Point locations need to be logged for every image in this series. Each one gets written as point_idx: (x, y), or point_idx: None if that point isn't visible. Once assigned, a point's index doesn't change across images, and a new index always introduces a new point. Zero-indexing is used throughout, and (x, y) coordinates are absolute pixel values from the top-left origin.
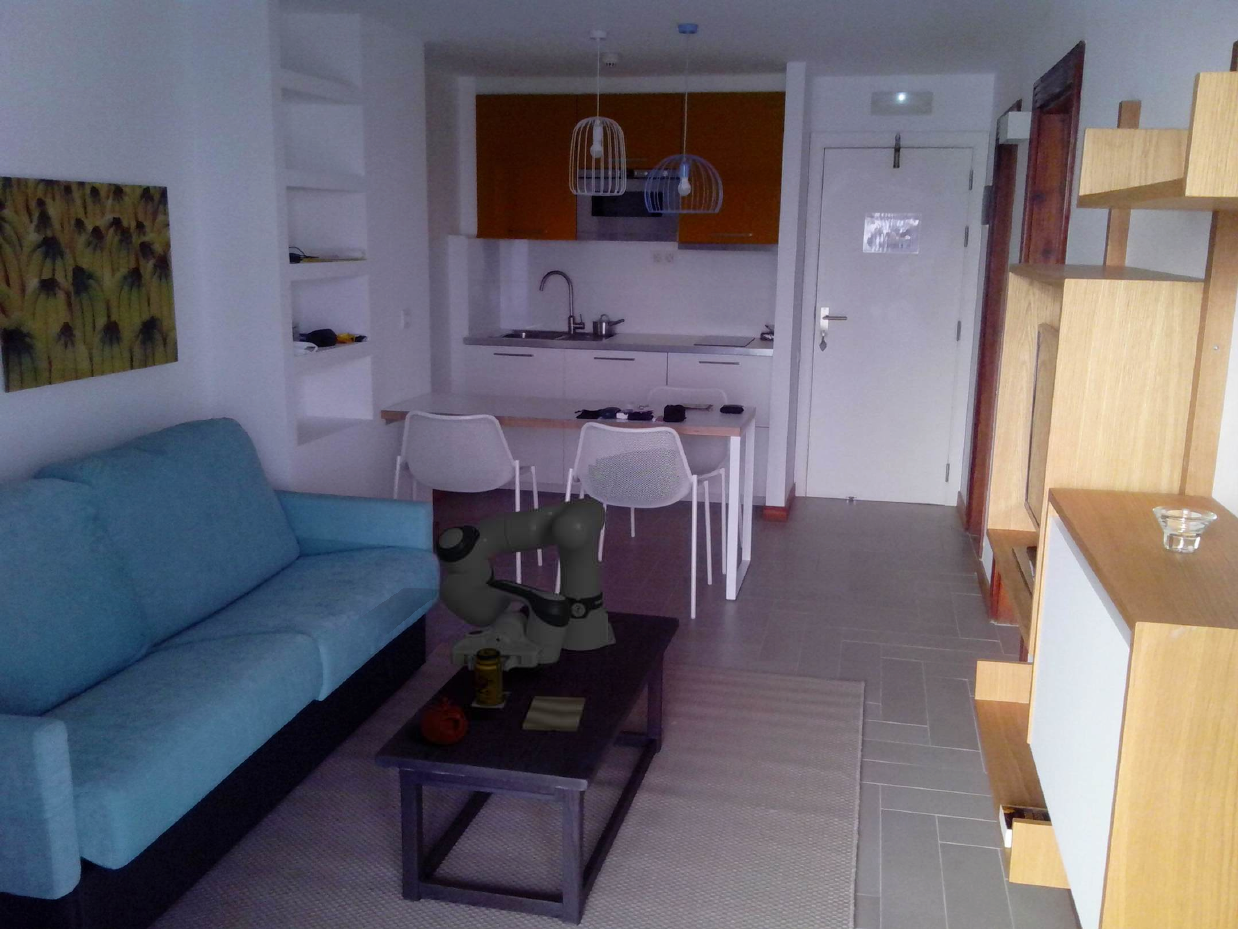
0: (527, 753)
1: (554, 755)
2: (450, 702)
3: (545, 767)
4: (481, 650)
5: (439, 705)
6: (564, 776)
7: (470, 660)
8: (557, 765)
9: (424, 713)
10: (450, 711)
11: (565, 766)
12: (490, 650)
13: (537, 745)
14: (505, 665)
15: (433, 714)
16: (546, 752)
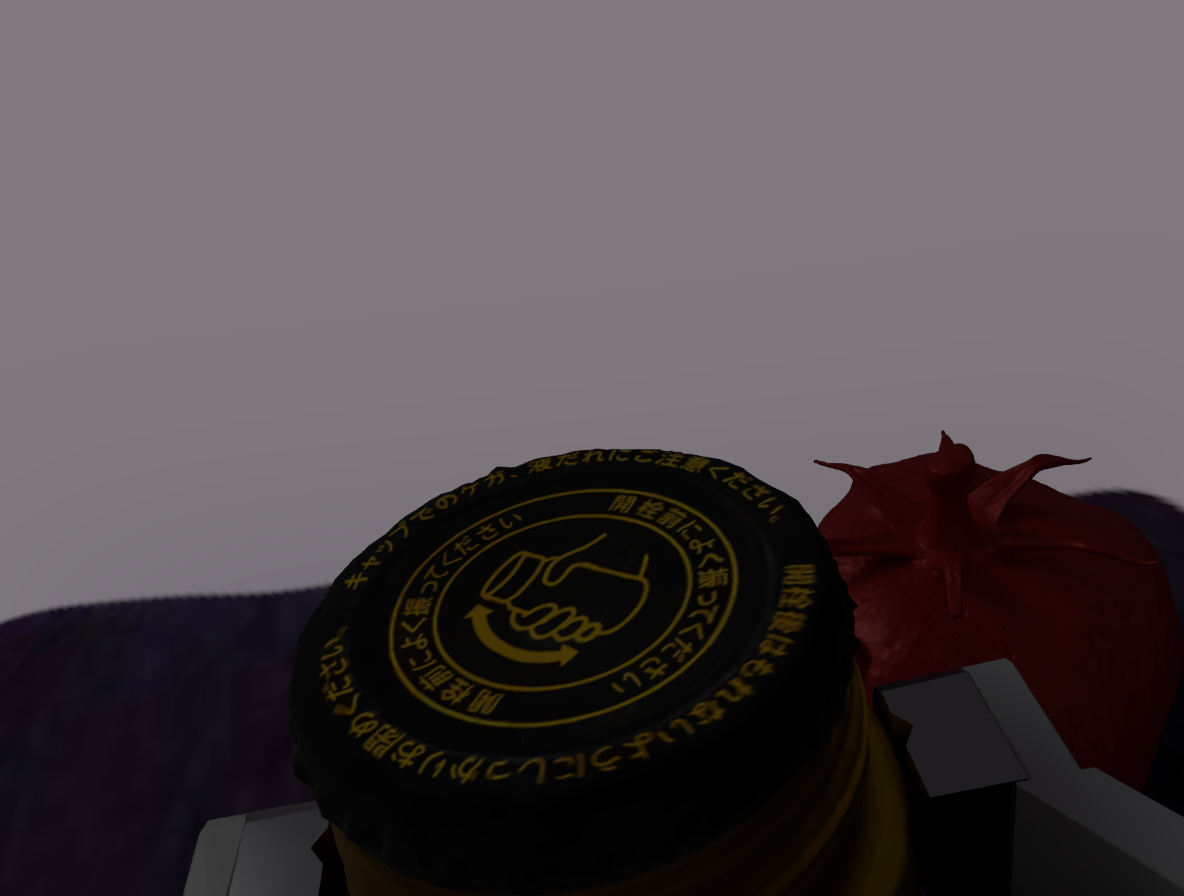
0: (261, 742)
1: (79, 772)
2: (947, 582)
3: (156, 643)
4: (755, 595)
5: (1023, 531)
6: (65, 606)
7: (1064, 757)
8: (82, 679)
9: (1130, 522)
10: (862, 526)
11: (37, 684)
12: (534, 682)
13: (185, 863)
14: (254, 812)
15: (984, 472)
16: (128, 791)
